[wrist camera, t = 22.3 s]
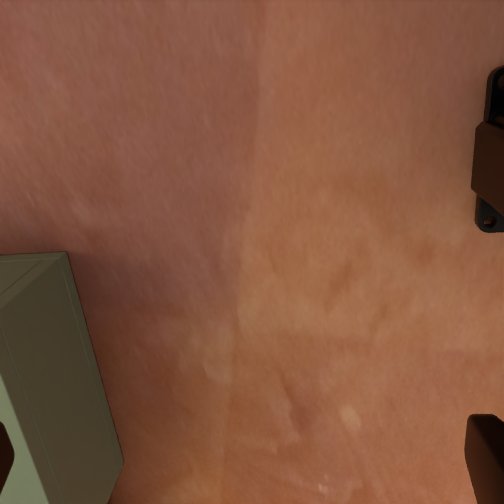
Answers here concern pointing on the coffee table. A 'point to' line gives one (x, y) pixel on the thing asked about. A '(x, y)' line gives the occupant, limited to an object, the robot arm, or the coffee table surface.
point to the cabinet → (52, 388)
